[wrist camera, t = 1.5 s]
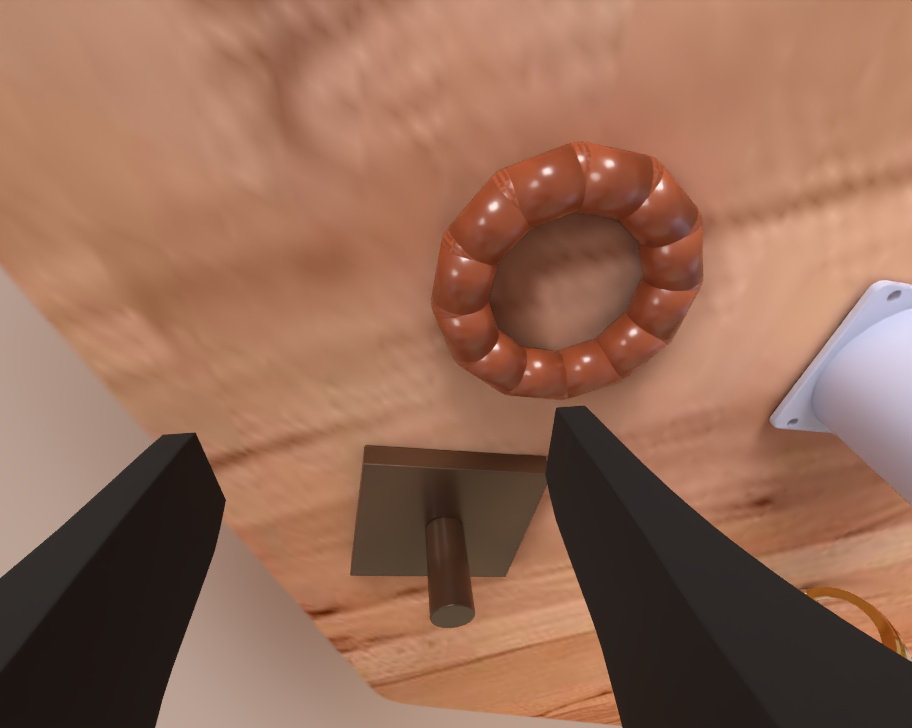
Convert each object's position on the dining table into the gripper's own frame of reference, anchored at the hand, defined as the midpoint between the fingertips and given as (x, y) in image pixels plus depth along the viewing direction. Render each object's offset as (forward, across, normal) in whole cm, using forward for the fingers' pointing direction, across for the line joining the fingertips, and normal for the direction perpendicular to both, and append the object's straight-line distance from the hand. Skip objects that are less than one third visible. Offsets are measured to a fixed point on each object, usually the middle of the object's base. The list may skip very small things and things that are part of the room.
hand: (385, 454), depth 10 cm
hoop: (+8, -6, 0) cm, 10 cm away
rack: (+9, -2, +14) cm, 17 cm away
